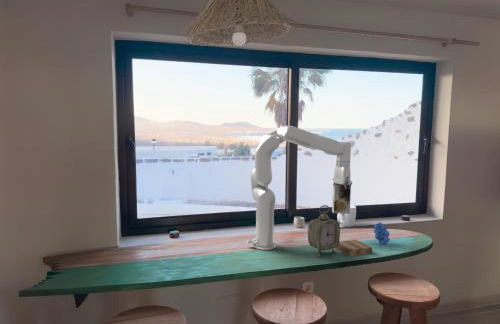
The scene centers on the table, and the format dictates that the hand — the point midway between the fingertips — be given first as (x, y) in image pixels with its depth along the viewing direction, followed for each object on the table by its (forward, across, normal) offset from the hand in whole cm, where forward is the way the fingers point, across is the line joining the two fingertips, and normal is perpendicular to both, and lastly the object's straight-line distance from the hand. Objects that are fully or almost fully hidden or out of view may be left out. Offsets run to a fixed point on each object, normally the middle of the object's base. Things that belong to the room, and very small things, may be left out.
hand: (341, 194), depth 192 cm
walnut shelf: (+27, +15, -2) cm, 31 cm away
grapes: (+27, +11, +19) cm, 35 cm away
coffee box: (+10, 0, 0) cm, 10 cm away
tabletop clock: (+27, +15, -20) cm, 37 cm away
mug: (+27, -28, +24) cm, 45 cm away
